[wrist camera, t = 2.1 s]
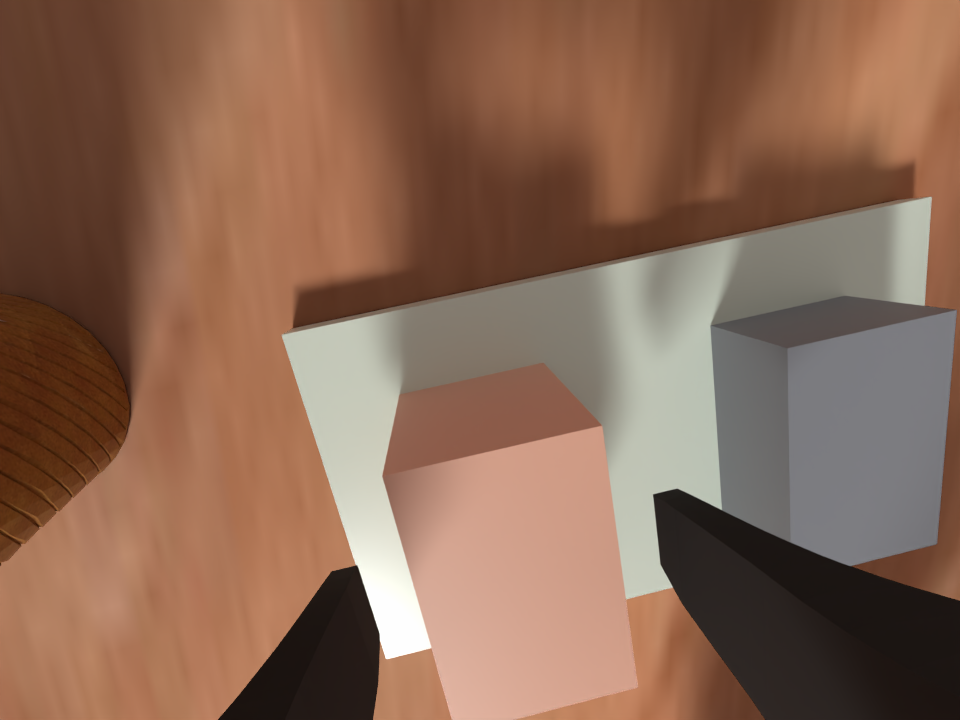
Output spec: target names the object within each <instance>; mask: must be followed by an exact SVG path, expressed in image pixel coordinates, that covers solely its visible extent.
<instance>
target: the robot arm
mask: <svg viewBox="0 0 960 720" xmlns="http://www.w3.org/2000/svg"><path fill="white" fill-rule="evenodd" d="M653 499H654V509H655V518H656V528H657V537H658V547H659V556H660V565H661V566H662V568H663V570H664V572H665V574H666V576H667V577H668V579H669V581H670V583H671V585H672V587H673V588H674V590H675V592H676V593H677V595H678V597H679V599H680V600H681V602H682V604H683V605H684V607H685V608H686V610H687V611H688V612H689V614H690V615H691V617H692V618H693V619H694V621H695V622H696V624H697V625H698V626H699V628H700V629H701V631H702V632H703V633H704V635H705V636H706V638H707V639H708V640H709V642H710V643H711V644H712V646H713V647H714V649H715V650H716V651H717V653H718V654H719V655H720V657H721V658H722V659H723V661H724V662H725V664H726V665H727V666H728V668H729V669H730V670H731V672H732V673H733V675H734V676H735V677H736V679H737V680H738V681H739V683H740V684H741V686H742V687H743V688H744V690H745V691H746V692H747V694H748V695H749V697H750V698H751V699H752V701H753V702H754V704H755V705H756V707H757V708H758V710H759V711H760V712H761V714H762V715H763V717H764V718H765V720H960V601H959V600H955V599H951V598H948V597H945V596H941V595H938V594H934V593H931V592H928V591H924V590H921V589H917V588H914V587H911V586H907V585H904V584H901V583H898V582H895V581H892V580H888V579H885V578H882V577H879V576H876V575H874V574H871V573H868V572H865V571H862V570H860V569H857V568H854V567H851V566H848V565H846V564H843V563H840V562H837V561H835V560H832V559H830V558H827V557H824V556H822V555H819V554H817V553H815V552H812V551H810V550H807V549H805V548H803V547H800V546H798V545H796V544H793V543H791V542H788V541H786V540H784V539H782V538H779V537H777V536H775V535H773V534H770V533H768V532H766V531H764V530H762V529H760V528H758V527H755V526H753V525H751V524H749V523H747V522H745V521H743V520H741V519H739V518H737V517H735V516H733V515H731V514H729V513H727V512H725V511H723V510H721V509H719V508H717V507H715V506H713V505H711V504H709V503H707V502H705V501H703V500H701V499H699V498H697V497H694V496H692V495H690V494H688V493H686V492H684V491H682V490H680V489H673V490H669V491H665V492H660V493H656V494H653ZM379 650H380V633H379V630H378V627H377V624H376V621H375V617H374V614H373V611H372V608H371V605H370V602H369V599H368V596H367V593H366V590H365V587H364V584H363V581H362V577H361V574H360V571H359V568H358V565H357V566H352V567H348V568H344V569H340V570H336V571H332V572H331V573H330V575H329V576H328V577H327V579H326V580H325V581H324V583H323V584H322V585H321V587H320V588H319V590H318V591H317V593H316V594H315V595H314V597H313V598H312V600H311V601H310V602H309V604H308V605H307V607H306V608H305V609H304V611H303V612H302V614H301V615H300V616H299V618H298V619H297V621H296V622H295V623H294V625H293V626H292V627H291V629H290V630H289V632H288V633H287V634H286V636H285V637H284V638H283V640H282V641H281V642H280V644H279V645H278V647H277V648H276V649H275V650H274V652H273V653H272V654H271V656H270V657H269V658H268V659H267V661H266V662H265V663H264V664H263V666H262V667H261V668H260V669H259V671H258V672H257V673H256V674H255V676H254V677H253V678H252V679H251V681H250V682H249V683H248V684H247V686H246V687H245V688H244V689H243V691H242V692H241V693H240V694H239V696H238V697H237V698H236V699H235V700H234V702H233V703H232V704H231V705H230V706H229V707H228V709H227V710H226V711H225V712H224V713H223V714H222V715H221V717H220V718H219V719H218V720H373V715H374V708H375V701H376V694H377V687H378V675H379Z"/></svg>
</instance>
